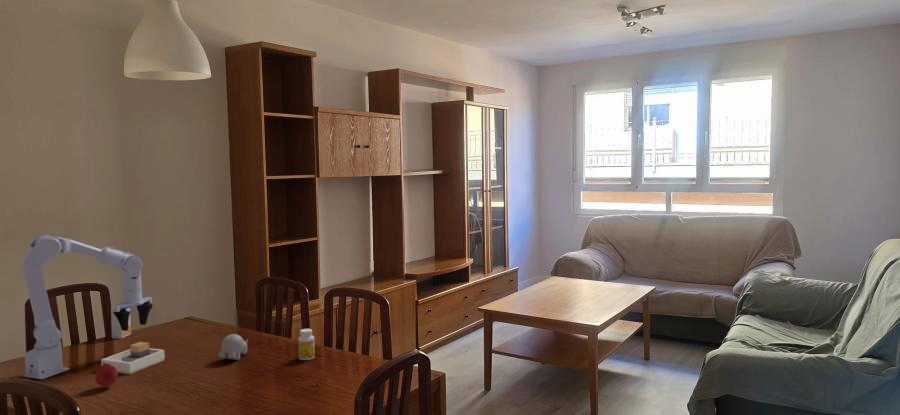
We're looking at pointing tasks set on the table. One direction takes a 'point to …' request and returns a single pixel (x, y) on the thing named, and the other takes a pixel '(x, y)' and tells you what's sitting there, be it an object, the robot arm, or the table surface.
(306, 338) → the supplement bottle
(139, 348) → the block
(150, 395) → the table surface
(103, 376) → the onion
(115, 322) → the skincare box
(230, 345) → the chubby cartoon animal
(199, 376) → the table surface
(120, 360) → the walled box
